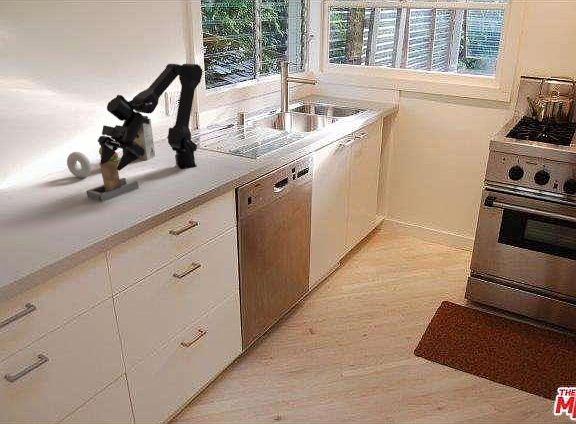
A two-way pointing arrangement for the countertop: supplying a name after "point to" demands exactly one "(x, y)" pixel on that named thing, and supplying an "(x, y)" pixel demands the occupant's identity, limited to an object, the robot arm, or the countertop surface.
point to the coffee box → (146, 141)
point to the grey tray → (111, 191)
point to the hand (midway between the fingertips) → (109, 167)
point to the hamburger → (113, 158)
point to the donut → (82, 160)
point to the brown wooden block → (110, 175)
